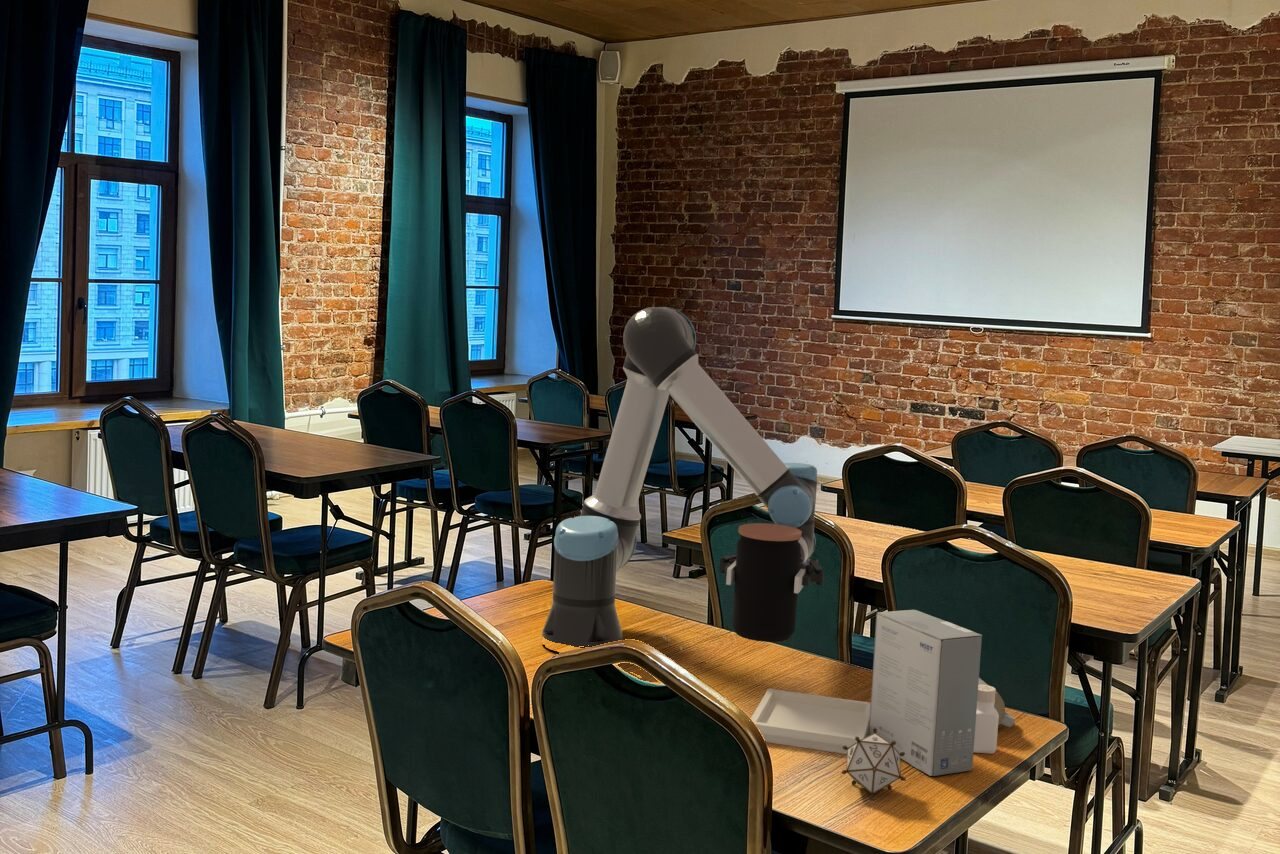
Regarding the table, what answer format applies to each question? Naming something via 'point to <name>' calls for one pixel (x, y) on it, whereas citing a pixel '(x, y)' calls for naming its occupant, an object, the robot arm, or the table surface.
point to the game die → (873, 763)
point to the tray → (811, 720)
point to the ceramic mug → (1000, 709)
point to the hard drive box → (926, 690)
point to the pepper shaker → (986, 721)
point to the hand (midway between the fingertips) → (762, 581)
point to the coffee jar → (766, 582)
